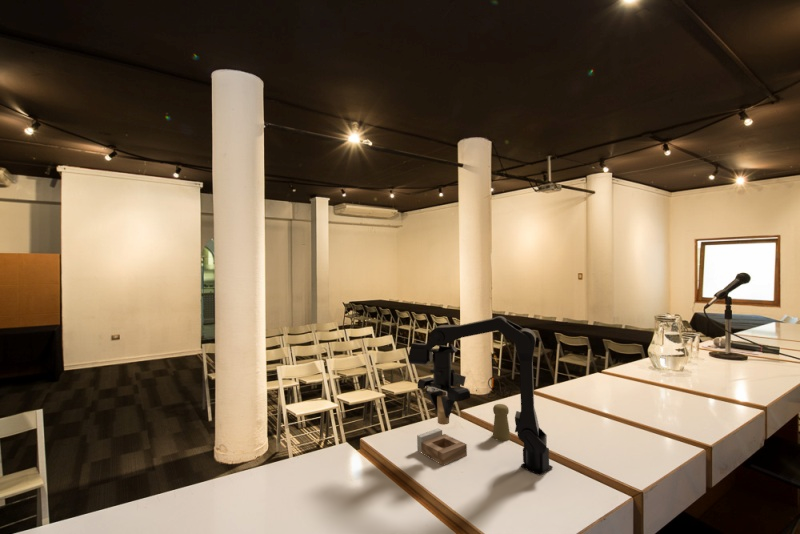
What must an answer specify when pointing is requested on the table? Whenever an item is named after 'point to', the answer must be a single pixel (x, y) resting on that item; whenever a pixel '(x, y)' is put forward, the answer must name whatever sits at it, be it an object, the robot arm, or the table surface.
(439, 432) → the wall
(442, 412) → the dowel
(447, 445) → the socket block
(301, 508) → the table surface
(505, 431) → the cork
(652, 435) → the table surface
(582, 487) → the table surface
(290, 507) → the table surface
